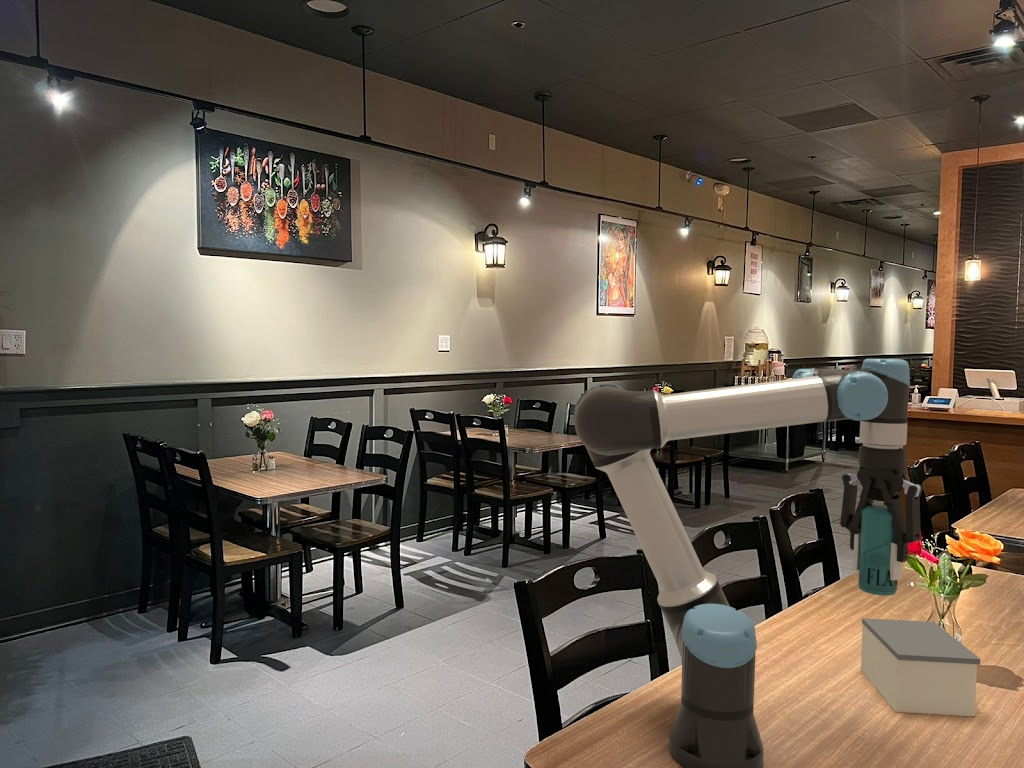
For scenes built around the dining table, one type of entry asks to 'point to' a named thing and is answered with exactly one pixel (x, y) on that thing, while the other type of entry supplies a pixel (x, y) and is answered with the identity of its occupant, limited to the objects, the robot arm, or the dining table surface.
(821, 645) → the dining table surface
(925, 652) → the lid
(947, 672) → the box
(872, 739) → the dining table surface
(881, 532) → the beverage bottle
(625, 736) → the dining table surface
